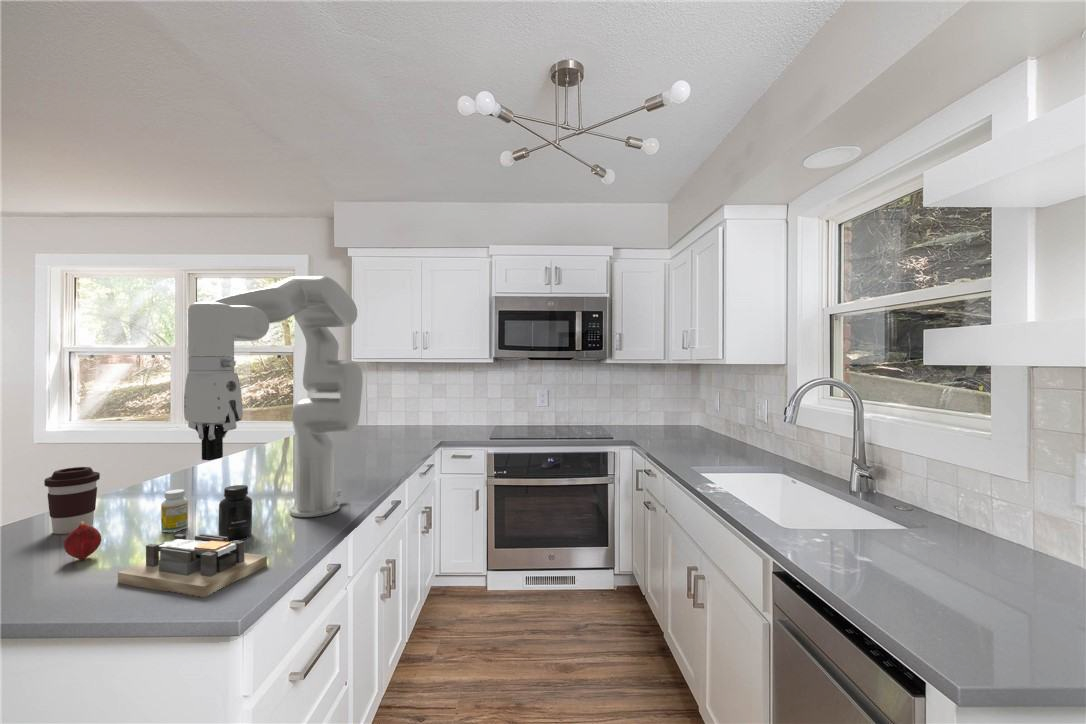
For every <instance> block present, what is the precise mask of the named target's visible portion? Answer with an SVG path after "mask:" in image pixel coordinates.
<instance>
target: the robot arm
mask: <svg viewBox="0 0 1086 724" xmlns="http://www.w3.org/2000/svg"><path fill="white" fill-rule="evenodd" d="M292 316H293V317H294V320H295V321H296V322H297V324H298V326H299V328H300V330H301V332H302V335H303V336H304V339H305V344H306V345H305V347H306V348H305V357H304V367H303V372H302V373H303V374H302V375H303V376H302V384H303V388H304V389H305V391H307V392H309V393H312V394H328V395H329V394H335V395H336V394H337V395H338V394H339V398H338V397H337V398H336V397H332V398H331V397H309V398H303V399H301V400H299V401H297V403H295V405H294V406H293V408H292V410H291V420H292V425H293V429H294V434H295V453H296V454H295V456H296V457H295V462H296V463H295V464H296V465H295V472H296V473H295V474H296V475H295V481H296V484H295V485H296V486H295V487H296V489H295V495H296V496H295V497H296V498H295V499H296V500H295V501H296V504H294V506H292V507H291V508H290V509H289V514H290V515H291V516H292V517H296V518H314V517H315V518H316V517H317V518H318V517H323V516H326V515H330V514H332V513H336V512H337V511H338V510H339V509H340V503H339V502H338V501H336V499H337V498H339V497H341V496H343V495H344V490H343V489H342V488H339V489H337V490H335V489H334V488H335V487H334V486H335V485H334V483H335V482H334V481H335V478H334V477H335V476H334V475H335V474H334V473H335V471H334V468H335V465H334V461H335V460H334V456H335V455H334V444H333V442H332V439H331V438H330V436H329V435H328V434H327V433H350V432H353V431H355V430H356V428H357V426H358V424H359V420H360V415H361V405H362V404H361V403H362V394H363V382H364V376H363V371H362V367H361V366H360V364H359V363H357V362H356V361H354V360H349V359H347V360H345V359H343V360H341V359H339V350H340V349H339V348H340V345H339V343H338V342H339V341H338V340H337V338H336V337H335V335H334V334H333V332H331V330H330V329H329V328H349V327H351V326H353V324H355V323H356V320H357V318H358V307H357V305H356V303H355V301H354V299H353V298H352V297H351V295H349V294H348V292H347V291H346V290H345V289H344V288H343V287H342V286H341V285H340V284H339V283H338V282H337V281H336V280H335V279H333V278H331V277H329V276H326V275H325V276H324V275H295V276H289V277H287V278H285V279H282V280H280V281H278V282H276V283H273V284H271V285H268V286H266V287H264V288H259V289H253V290H249V291H245V292H242V293H236V294H232V295H228V296H223V297H220V298H217V299H214V300H211V301H199V302H193V303H191V304H190V305H188V308H187V353H188V354H187V355H188V356H187V365H188V366H187V367H188V368H187V370H188V371H187V375H186V377H185V378H186V379H185V385H184V386H185V387H184V393H183V395H184V396H183V397H184V398H183V415H184V419H185V421H186V422H188V424H187V426H188V428H190V429H192V430H195V431H196V432H197V434H198V439H200V440H201V460H202V461H214V460H217V459H223V457H224V456H223V455H224V454H223V453H224V444H223V443H224V441H223V440H224V439H225V437H226V434H227V433H228V431H233V430H236V429H237V427H238V426H237V422H240V421H241V420H242V419H243V416H244V415H243V414H244V413H243V412H244V411H243V409H244V408H243V398H242V397H243V396H242V389H241V382H240V378H239V374H238V373H237V372H235V367H236V365H237V363H236V360H235V342H254V341H259V340H260V339H262V338H264V337H265V336H267V333H268V331H269V330H270V324H274V323H280V322H283V321H286V320H287V319H289V318H291V317H292Z"/></svg>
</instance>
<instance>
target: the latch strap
mask: <svg viewBox="0 0 1086 724" xmlns="http://www.w3.org/2000/svg"><path fill="white" fill-rule="evenodd" d="M158 545H159V552H160V549H162V548H165V547H167V546H171V547H178V548H185V549H192V550H196V555H201V554H203V553H205V552H211V553H216V557H219V556H221V555H223V554H225V553H228V552H230V551H232V550H235V549H236V544H233V543H231V542H221V541H209V542H208V541H195V539H186V540H183V539H174V538H173V539H170V540H168V541H165V542H163V543H159V544H158Z"/></svg>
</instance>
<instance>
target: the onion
mask: <svg viewBox="0 0 1086 724" xmlns="http://www.w3.org/2000/svg"><path fill="white" fill-rule="evenodd" d="M64 539H65V540H64V541H63V547H64V552H65V553H66V554H67V555H68V556H70V557H73V558H74V559H78V560H81V561H82V560H85V559H87V558H89V556H91V555H92V554H93V553H95V552H96V551H97V549H98V548H99V546H101V542H102V535H101V533H100V531H99V530H98V529H97V528H95V527H94V526H88V525H87V524H86V523H85V522H83V521H82V522H81V523H79V526H78V528H76V529H75V530H73V531H72V532H71V533H70V534H67V536H66V538H64Z"/></svg>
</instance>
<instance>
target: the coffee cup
mask: <svg viewBox="0 0 1086 724" xmlns="http://www.w3.org/2000/svg"><path fill="white" fill-rule="evenodd" d="M100 477H101V473H100V472H98V471H94V470H93V468H92V467H90V466H75V467H68V468H63V469H57V470H55V471H54V472H53V473H52V475H51V476H49V477H46V478H45V479H44V480H43V481H44V487H47V489H48V490H47V491H48V492H47V503H48V504H47V505H48V512H49V513H48V514H49V517H50V519H51V520H50V521H51V528H52V529H51V530H52V533H53V534H55V535H69V534H70V533H71V532H72V531H73V530H75V529H76V528H78V526H79V523H81V522H82V521H83V522H85V523H86V524H87V525H88V526H92V527H94V516H95V515H94V514H95V510H96V507H97V505H96V504H97V496H98V494H97V492H98V487H97V482H98V481H99V480H100Z"/></svg>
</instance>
